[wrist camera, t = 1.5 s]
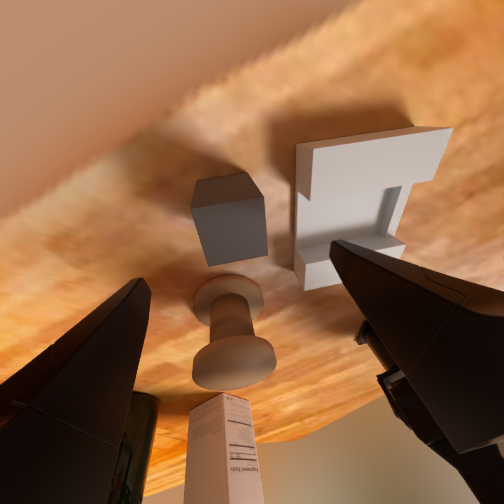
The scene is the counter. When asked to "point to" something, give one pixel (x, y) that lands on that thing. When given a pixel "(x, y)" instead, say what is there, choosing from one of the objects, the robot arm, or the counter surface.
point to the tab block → (230, 219)
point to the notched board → (357, 193)
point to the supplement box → (222, 454)
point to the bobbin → (231, 335)
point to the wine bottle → (134, 451)
